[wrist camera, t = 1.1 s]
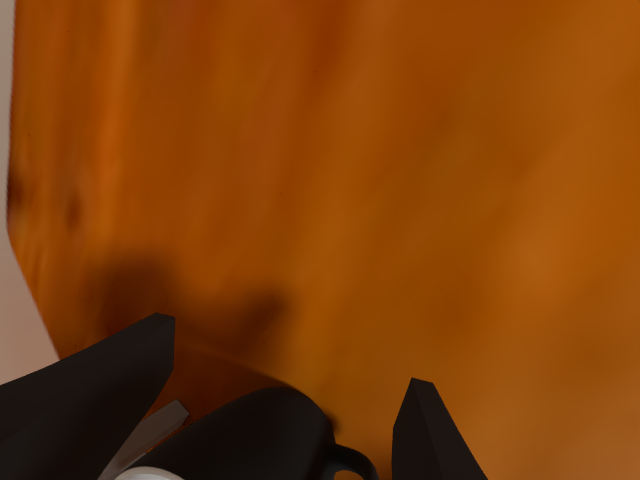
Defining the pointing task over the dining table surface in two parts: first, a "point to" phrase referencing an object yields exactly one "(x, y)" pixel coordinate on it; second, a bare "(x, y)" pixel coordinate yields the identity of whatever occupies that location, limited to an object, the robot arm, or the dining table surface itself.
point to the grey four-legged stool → (146, 437)
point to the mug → (254, 444)
